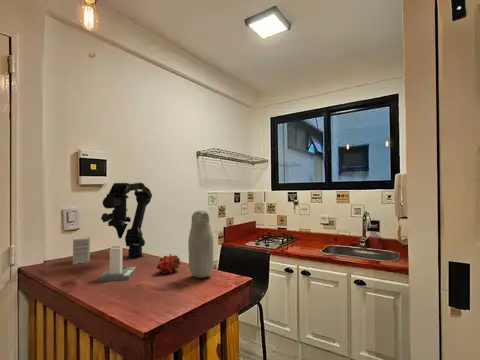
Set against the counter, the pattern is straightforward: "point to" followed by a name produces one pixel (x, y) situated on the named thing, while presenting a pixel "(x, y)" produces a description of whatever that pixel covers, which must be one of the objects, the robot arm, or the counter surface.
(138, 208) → the robot arm
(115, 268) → the cream tall block
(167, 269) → the dragon fruit
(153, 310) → the counter surface
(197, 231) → the grey bottle
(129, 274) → the docking station
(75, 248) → the grey ridged block
